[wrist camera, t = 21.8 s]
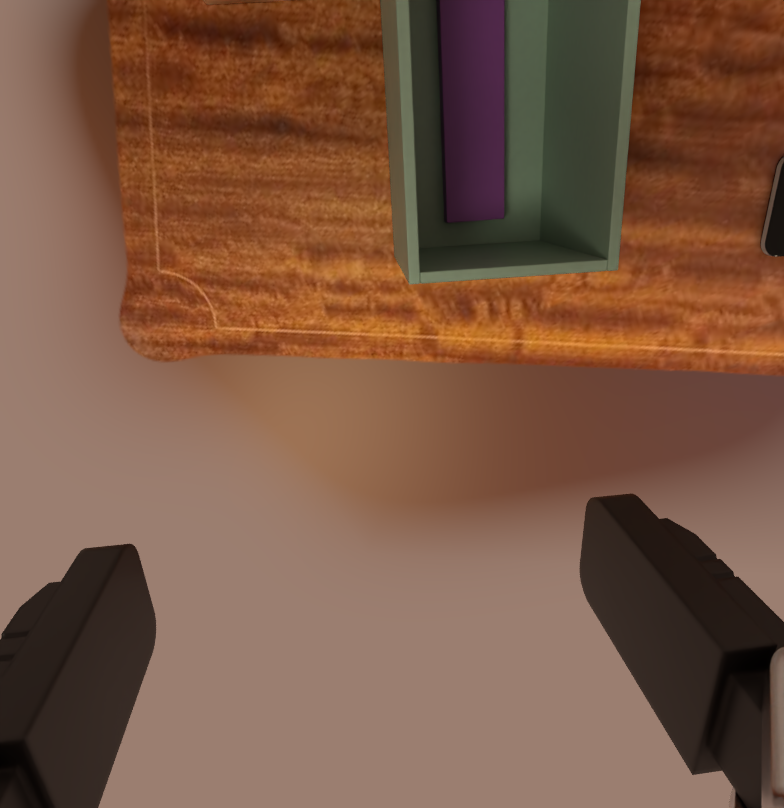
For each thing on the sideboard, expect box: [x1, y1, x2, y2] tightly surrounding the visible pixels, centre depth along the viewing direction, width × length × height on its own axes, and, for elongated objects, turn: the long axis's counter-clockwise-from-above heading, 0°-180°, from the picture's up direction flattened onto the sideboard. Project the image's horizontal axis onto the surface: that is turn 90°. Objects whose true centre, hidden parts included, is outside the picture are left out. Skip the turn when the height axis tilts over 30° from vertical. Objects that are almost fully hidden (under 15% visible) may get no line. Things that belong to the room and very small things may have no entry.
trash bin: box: [380, 0, 641, 284], centre depth 31 cm, size 11×25×13 cm, turn 3°
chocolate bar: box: [436, 0, 505, 223], centre depth 36 cm, size 20×4×1 cm, turn 4°
